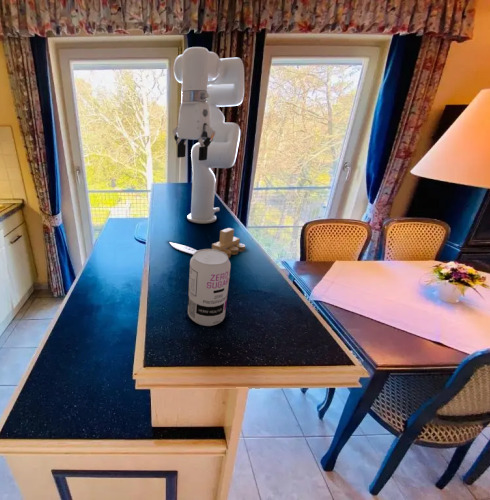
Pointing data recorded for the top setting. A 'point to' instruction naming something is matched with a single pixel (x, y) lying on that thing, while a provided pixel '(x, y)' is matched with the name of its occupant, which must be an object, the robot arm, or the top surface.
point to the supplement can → (208, 286)
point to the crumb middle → (233, 250)
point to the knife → (184, 248)
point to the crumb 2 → (240, 247)
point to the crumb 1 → (227, 252)
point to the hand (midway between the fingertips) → (191, 158)
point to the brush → (226, 240)
